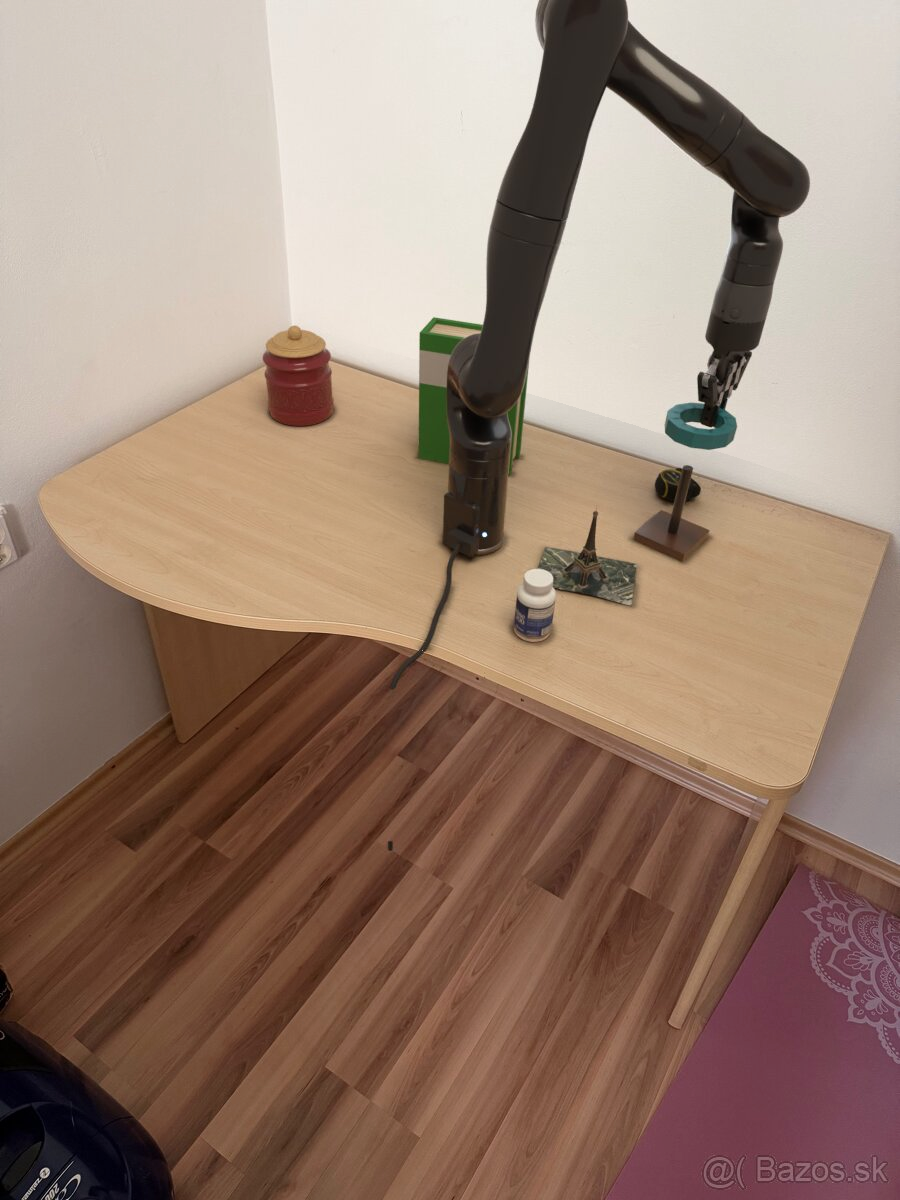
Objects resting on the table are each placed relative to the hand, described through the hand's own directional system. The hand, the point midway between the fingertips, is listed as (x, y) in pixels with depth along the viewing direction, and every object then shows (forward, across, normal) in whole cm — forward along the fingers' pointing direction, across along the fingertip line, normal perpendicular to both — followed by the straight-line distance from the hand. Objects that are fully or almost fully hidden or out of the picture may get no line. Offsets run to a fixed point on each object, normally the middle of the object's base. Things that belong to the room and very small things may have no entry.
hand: (710, 421), depth 128 cm
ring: (0, +4, 0) cm, 4 cm away
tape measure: (+20, -9, -6) cm, 23 cm away
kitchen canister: (+20, +15, -77) cm, 81 cm away
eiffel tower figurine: (+20, +22, -5) cm, 30 cm away
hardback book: (+20, +6, -41) cm, 46 cm away
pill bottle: (+20, +38, -4) cm, 43 cm away
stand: (+20, +4, 0) cm, 20 cm away
